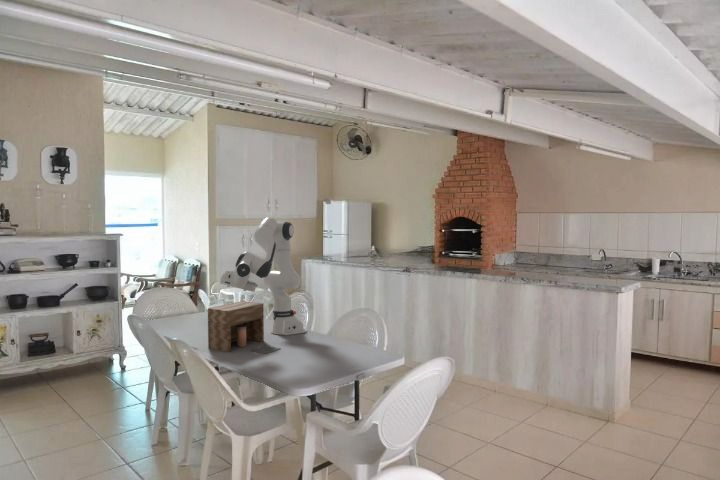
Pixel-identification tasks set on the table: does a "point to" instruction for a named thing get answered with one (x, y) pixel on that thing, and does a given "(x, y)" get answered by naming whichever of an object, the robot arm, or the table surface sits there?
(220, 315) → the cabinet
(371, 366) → the table surface
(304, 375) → the table surface
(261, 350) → the mat
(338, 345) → the table surface
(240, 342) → the canister
